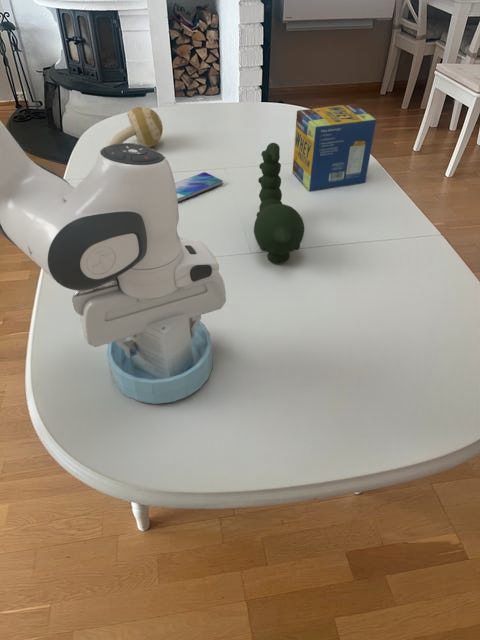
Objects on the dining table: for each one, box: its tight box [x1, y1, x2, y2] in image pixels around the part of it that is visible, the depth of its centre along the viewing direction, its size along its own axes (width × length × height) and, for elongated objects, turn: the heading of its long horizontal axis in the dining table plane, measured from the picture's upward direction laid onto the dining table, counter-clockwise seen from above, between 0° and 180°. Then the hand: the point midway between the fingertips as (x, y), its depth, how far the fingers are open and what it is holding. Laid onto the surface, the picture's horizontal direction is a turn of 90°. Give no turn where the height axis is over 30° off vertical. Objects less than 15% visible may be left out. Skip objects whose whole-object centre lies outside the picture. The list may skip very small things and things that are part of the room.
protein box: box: [292, 103, 377, 192], centre depth 123 cm, size 10×15×16 cm
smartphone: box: [175, 171, 223, 203], centre depth 123 cm, size 7×1×15 cm
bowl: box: [106, 320, 213, 405], centre depth 78 cm, size 15×15×5 cm
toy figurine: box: [253, 142, 305, 265], centre depth 100 cm, size 9×19×25 cm
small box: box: [126, 313, 193, 379], centre depth 76 cm, size 8×6×10 cm
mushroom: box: [107, 106, 164, 148], centre depth 138 cm, size 10×11×15 cm
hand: (160, 344), depth 77 cm, fingers closed on small box, 7 cm apart
